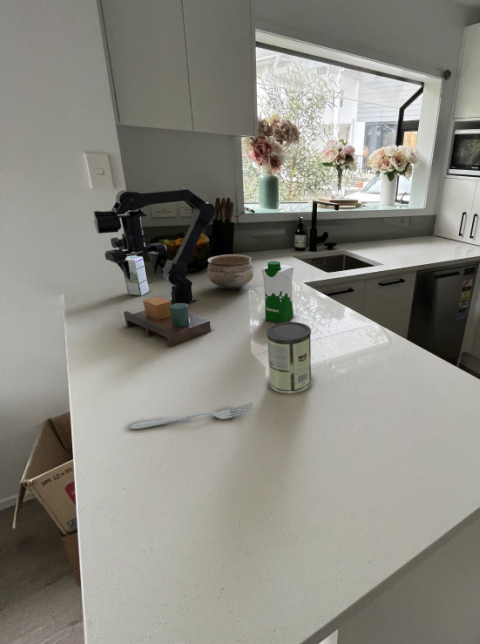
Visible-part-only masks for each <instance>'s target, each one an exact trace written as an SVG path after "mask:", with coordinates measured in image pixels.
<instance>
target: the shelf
mask: <svg viewBox="0 0 480 644" xmlns="http://www.w3.org/2000/svg"><path fill="white" fill-rule="evenodd" d="M123 315H124V320H125V325H126V327H127V328H130V327H133V326H139V327H142V328H145V329H144V330H145V333H146V336H147V337H152V336H154V335H157V334H158V335H160V336H162V337H165V338H167V343H168V346H169V347H174V346H176V345H180V344H182V343H184V342H187V341H189V340H192V339H194V338H196V337H199V336H202V335H204V334H206V333H209V332H211V331H212V326H211V321H210V320H209V319H206V318H204V317H200V316H198V315H195V314H193V313H190V312H189V318H190V324H189V325H188V326H185V327H174V326H173V325H172V319H171V316H170V317H167V318H164V319H161V320H156V319H154V318H152V317H149V316H147V315H146V312H145V309H144V310H141V311H138V312H135V313H133V312H130V311H128V310H126V311H123Z"/></svg>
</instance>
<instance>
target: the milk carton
mask: <svg viewBox="0 0 480 644" xmlns="http://www.w3.org/2000/svg"><path fill="white" fill-rule="evenodd" d="M261 274H262V278H263V291H264V312H265V314H264V315H265V316H264V317H265V318H264V319H265V321H269V322H275V323H277V324H278V323H283V322H288V321H289V320H291V319H292V318H293V317H294V307H293V305H294V304H293V274H294V266H292V265H291V266H290V265H286V264H285V265H284V264H281V262H280V261H277V260H275V261H274V260H273V261H272V260H271V261H267V266H265V267H262V268H261Z"/></svg>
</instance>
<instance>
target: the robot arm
mask: <svg viewBox="0 0 480 644" xmlns="http://www.w3.org/2000/svg"><path fill="white" fill-rule="evenodd" d="M176 202H184V203H185V204H186V205H188V206H189V207H190V208H191V209H192V213H191V223H190V226H189V227H188V229H187V232H186V234H185V235H184V238H183V240H182V242H181V245H180V246H179V248H178V250H177V253H176V255H175V257H173V259H172V260H170V259H166V262H165V264H164V266H163V267H162V271H163V272H162V275H163V278H164V279H165V280H166V281H168V282H169V283H170V284H171V287H170V288H171V291H170V294H171V300H170V301H171V303H173V304H176V303H186V304H187V305H188V304H190V303H193V302H197V301H196V299H195V298H194V297H193V296H194V295H193V289H192V285H193V281H191V280H190V279H189V278H187V277H186V276H187V273H188V263H189V261H190V259H191V257H192V254H193V252H194V251H195V248H196V246H197V244H198V242H199V240H200V238H201V236H202V233H203V231H204V230H205V228H206V227H208V226H209V225H210V224H211V222H212V221H213V220H214V218H215V217H216V214H217V210H216V207H215V206H214V204H212V203H210V202H206V201H205V200H204V199H202V198H201V197H200V196H197V195H196V194H195V193H193V191H191V190H190V189H188V188H179V189H169V190H168V189H167V190H158V191H148V192H147V191H136V190H125V189H124V190H120V191H118V192H117V193H116V195H115V203H114V204H113V207H112V208H111V210H104V211H102V210H93V218H94V221H93V222H94V223H93V224H94V228H95V230H96V232H97V234H99V235H100V234H110V233H111V234H112V233H118V232H119V231H120V230H121V229H123V233H121V238H119V237H117V236H116V237H111V238H110V245H111V247H112V248H113V249H110V250H106V251H105V252H104V258H105V260H106V261H110V262H111V263H114V264H116V265H117V266H118V267H119V268H120V270H121V271H122V273H123V275H124V274H125V276H126V278H127V279H129V280H130V270H129V263H128V261H127V260H125V259H126V258H127V257H128V256H138V255H143V254H147V255H148V257H149V263H150V269H151V273H152V274H154V275H155V274H156V272H157V270H158V266H159V263H160V262H161V259H162V257H163V256H164V255H165V253H168V249H167V246H166V245H165V244H163V243H160V242H153V243H147V244H146V239H145V238H147V234H146V233H144V230H143V229H144V228H143V224H142V223H143V222H142V219H141V218H142V217H143V218H144V217H148V214H147V213H145V212H144V211H143V210H142V208H145V207H147V206H151V205H156V204H157V205H158V204H168V203H176ZM172 285H173V286H172Z"/></svg>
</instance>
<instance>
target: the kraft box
mask: <svg viewBox="0 0 480 644" xmlns="http://www.w3.org/2000/svg"><path fill="white" fill-rule="evenodd" d="M171 305H172V302H171V300H169V299H166V298H163V297H160V296H154V297H151V298H148V299H144V300H143V306H144V310H145V312H146V315H147V316H149V317H152V318H154V319H156V320H161V319H164V318H167V317H170V316H171V312H170V306H171Z"/></svg>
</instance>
